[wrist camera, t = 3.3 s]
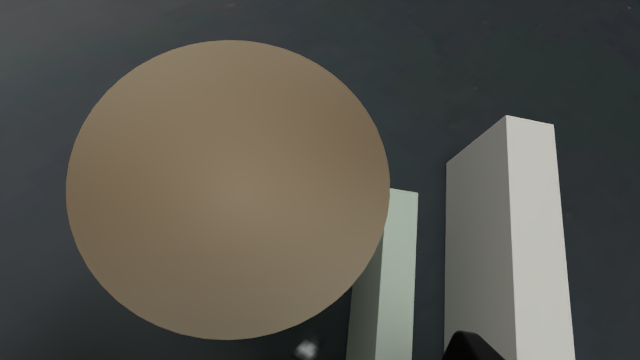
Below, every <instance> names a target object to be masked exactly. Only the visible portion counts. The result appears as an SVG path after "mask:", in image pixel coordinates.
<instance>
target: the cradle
mask: <svg viewBox="0 0 640 360" xmlns="http://www.w3.org/2000/svg"><path fill="white" fill-rule="evenodd" d="M417 209H418V193H414V192H409V191H403V190H397V189H391V188H390V200H389V208H388V215H387V219H386V223H385V226H384V230H383V234H382V236H381V239H380V241H379V243H378V246H377V248H376V250H375V253H374V254H373V256H372V258H371V259H370V261H369V263H368V264H367V266H366V268H365V269H364V271H363V272H362V273H361V275H360V276H359V277H358V278H357V280H356V281H355V282H354V283H353V285H352V296H351V307H350V318H349V329H348V340H347V351H346V360H412V337H413V312H414V286H415V260H416V235H417Z"/></svg>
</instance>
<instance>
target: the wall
mask: <svg viewBox="0 0 640 360" xmlns="http://www.w3.org/2000/svg"><path fill="white" fill-rule="evenodd" d="M459 330H461V331H468V332H474V333H477V334H478V335H480V336H481V337H482V338H483V339H484V340H485V341H486V342H487V343H488V344H489V345H490V346H491V347H492V348H493V349H495V350H496V351H497V352H498V353H499V354H500V355H501V356H502V357H503V358H504V359H505V360H575V353H574V342H573V331H572V320H571V309H570V298H569V287H568V276H567V265H566V254H565V244H564V233H563V222H562V211H561V200H560V189H559V178H558V167H557V156H556V145H555V134H554V125H552V124H547V123H542V122H537V121H532V120H527V119H523V118H518V117H513V116H508V115H505V116H504V117H503V118H502V119H501V120H499V121H498V122H497V123H496V124H494V125H493V126H492V127H491V128H489V129H488V130H487V131H486V132H484V133H483V134H482V135H481V136H479V137H478V138H477V139H476V140H474V141H473V142H472V143H471V144H470V145H468V146H467V147H466V148H465V149H463V150H462V151H461V152H460V153H458V154H457V155H456V156H455V157H453V158H452V159H451V160H450V161H448V162H447V163H446V237H445V312H444V352H445V350H446V348H447V346H448V344H449V342H450V340H451V337H452V335H453V334H454V333H455V332H456V331H459Z"/></svg>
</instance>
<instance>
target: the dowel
mask: <svg viewBox="0 0 640 360" xmlns="http://www.w3.org/2000/svg"><path fill="white" fill-rule="evenodd" d="M389 200H390V176H389V169H388V162H387V158H386V154H385V150H384V146H383V143H382V141H381V138H380V136H379V133H378V131H377V128H376V126H375V125H374V123H373V121H372V119H371V118H370V116H369V114H368V112H367V111H366V109H365V108H364V107H363V105H362V104H361V103H360V101H359V100H358V99H357V97H356V96H355V95H354V94H353V93H352V92H351V91H350V90H349V89H348V88H347V87H346V86H345V85H344V84H343V83H342V82H341V81H340V80H338V79H337V78H336V77H335V76H334V75H333V74H331V73H330V72H328V71H327V70H325V69H324V68H322V67H321V66H319V65H318V64H316V63H315V62H313V61H311V60H309V59H307V58H305V57H303V56H301V55H299V54H296V53H293V52H291V51H288V50H286V49H283V48H279V47H276V46H272V45H268V44H263V43H257V42H250V41H236V40H223V41H209V42H203V43H197V44H191V45H188V46H184V47H181V48H177V49H174V50H171V51H168V52H166V53H164V54H161V55H159V56H156V57H154V58H152V59H150V60H149V61H147V62H145V63H143V64H141V65H140V66H138V67H136V68H135V69H134V70H132V71H131V72H129V73H128V74H127V75H125V76H124V77H122V78H121V79H120V80H119V81H118V82H117V83H116V84H115V85H114V86H112V87H111V88H110V89H109V90H108V91H107V92H106V93H105V94H104V96H103V97H102V98H101V99H100V100H99V102H98V103H97V104H96V105H95V106H94V108H93V109H92V111H91V113H90V114H89V116H88V117H87V119H86V120H85V122H84V124H83V126H82V128H81V130H80V132H79V134H78V136H77V139H76V141H75V143H74V147H73V150H72V154H71V157H70V160H69V165H68V172H67V180H66V206H67V212H68V217H69V223H70V227H71V230H72V233H73V236H74V239H75V242H76V245H77V248H78V250H79V251H80V253H81V255H82V257H83V259H84V261H85V263H86V265H87V267H88V268H89V269H90V271H91V272H92V273H93V275H94V276H95V277H96V279H97V280H98V282H99V283H100V284H101V285H102V286H103V287H104V288H105V289H106V290H107V291H108V292H109V293H110V294H111V295H112V296H113V297H114V298H115V299H116V300H117V301H118V302H119V303H121V304H122V305H123V306H125V307H126V308H128V309H129V310H130V311H132V312H133V313H134V314H136V315H137V316H139V317H141V318H143V319H145V320H147V321H149V322H151V323H153V324H155V325H157V326H159V327H162V328H165V329H168V330H170V331H173V332H176V333H179V334H183V335H188V336H193V337H198V338H203V339H218V340H235V339H247V338H255V337H260V336H264V335H269V334H273V333H277V332H279V331H282V330H285V329H288V328H290V327H293V326H296V325H298V324H300V323H302V322H304V321H306V320H307V319H309V318H311V317H313V316H315V315H317V314H318V313H320V312H321V311H323V310H324V309H325V308H327V307H328V306H330V305H331V304H332V303H334V302H335V301H336V300H337V299H338V298H339V297H340V296H341V295H343V294H344V293H345V292H346V291H347V290H348V289H349V288H350V287H351V286H352V285H353V283H354V282H355V281H356V280H357V278H358V277H359V276H360V275H361V273H362V272H363V271H364V269H365V268H366V266H367V264H368V263H369V261H370V259H371V258H372V256H373V254H374V253H375V250H376V248H377V246H378V243H379V241H380V239H381V236H382V234H383V230H384V226H385V223H386V219H387V215H388V208H389Z"/></svg>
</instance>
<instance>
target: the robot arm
mask: <svg viewBox="0 0 640 360" xmlns="http://www.w3.org/2000/svg"><path fill="white" fill-rule="evenodd" d="M442 360H505V359H504V358H503V357H502V356H501V355H500V354H499V353H498V352H497V351H496V350H495V349H493V348H492V347H491V346H490V345H489V344H488V343H487V342H486V341H485V340H484V339H483V338H482V337H481V336H480V335H478V334H477V333H474V332H468V331H461V330H459V331H456V332H455V333H454V334H453V335H452V337H451V340H450V342H449V344H448V346H447V348H446V350H445V352H444V354H443V356H442Z"/></svg>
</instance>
